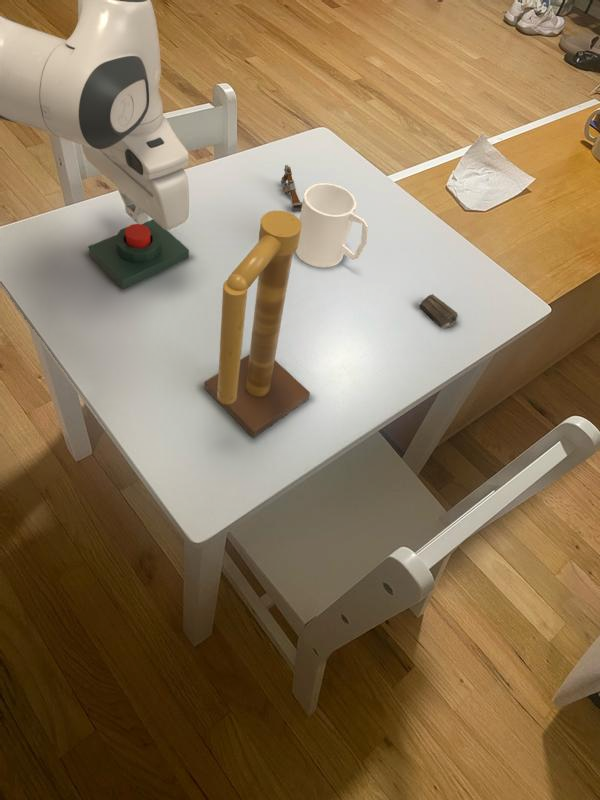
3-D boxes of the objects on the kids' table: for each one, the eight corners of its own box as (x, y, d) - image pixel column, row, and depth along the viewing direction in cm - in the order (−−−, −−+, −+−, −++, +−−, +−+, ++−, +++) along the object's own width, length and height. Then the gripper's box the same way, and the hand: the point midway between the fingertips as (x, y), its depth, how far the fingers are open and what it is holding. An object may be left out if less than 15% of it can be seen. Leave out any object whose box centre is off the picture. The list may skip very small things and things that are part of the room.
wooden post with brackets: (285, 176, 109) (292, 161, 105) (297, 216, 108) (304, 203, 104) (276, 177, 109) (282, 162, 104) (287, 217, 108) (294, 204, 103)
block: (429, 299, 97) (433, 291, 95) (459, 320, 95) (463, 312, 94) (416, 309, 95) (419, 301, 94) (446, 331, 93) (450, 323, 92)
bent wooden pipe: (257, 328, 74) (272, 205, 60) (285, 341, 74) (308, 220, 59) (206, 395, 67) (210, 274, 53) (237, 411, 67) (250, 292, 52)
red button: (135, 251, 89) (134, 242, 88) (121, 238, 90) (120, 229, 89) (155, 243, 91) (154, 233, 90) (141, 230, 92) (140, 220, 91)
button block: (123, 289, 89) (121, 271, 86) (89, 255, 92) (86, 236, 89) (189, 258, 95) (188, 240, 92) (154, 227, 98) (153, 209, 95)
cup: (341, 287, 96) (354, 237, 88) (284, 248, 99) (293, 196, 91) (370, 264, 100) (386, 214, 92) (315, 228, 103) (326, 176, 95)
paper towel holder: (253, 438, 77) (274, 294, 56) (204, 388, 80) (207, 236, 60) (308, 399, 82) (346, 253, 61) (260, 353, 85) (281, 202, 65)
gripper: (61, 96, 78) (78, 187, 89) (155, 176, 71) (160, 265, 82) (103, 84, 81) (114, 174, 92) (197, 160, 74) (197, 248, 85)
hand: (137, 217), depth 87 cm, fingers closed
